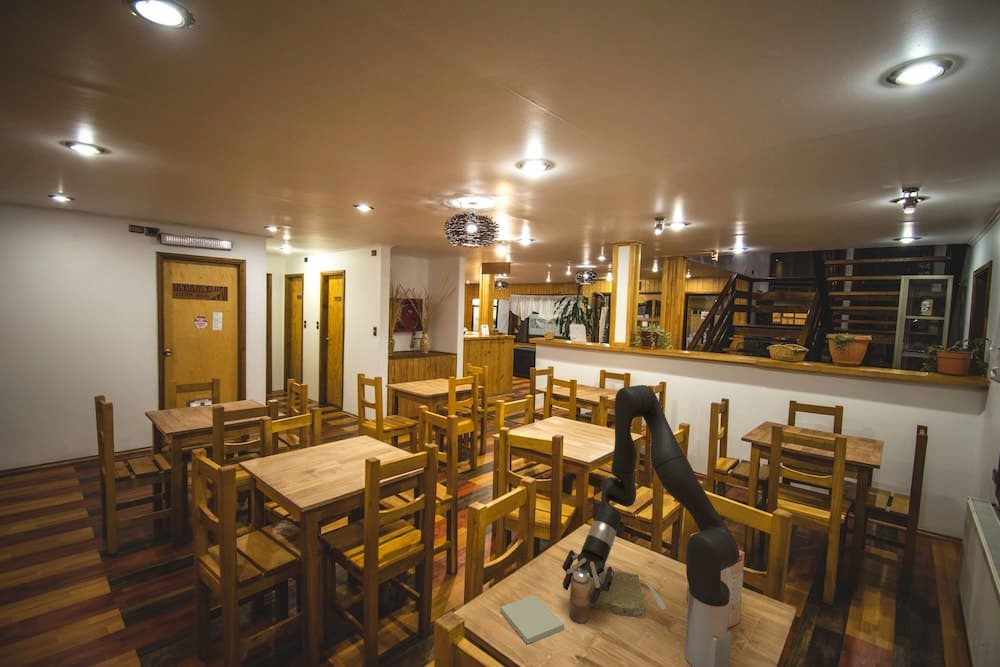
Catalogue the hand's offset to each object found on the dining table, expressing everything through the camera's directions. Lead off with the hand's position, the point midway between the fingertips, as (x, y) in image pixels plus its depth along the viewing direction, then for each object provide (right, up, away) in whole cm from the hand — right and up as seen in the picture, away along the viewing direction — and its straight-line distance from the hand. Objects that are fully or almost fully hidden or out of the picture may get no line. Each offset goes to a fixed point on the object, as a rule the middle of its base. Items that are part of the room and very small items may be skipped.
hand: (578, 595), depth 126 cm
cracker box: (+41, -8, +6) cm, 42 cm away
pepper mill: (+1, -7, +1) cm, 7 cm away
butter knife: (+25, -7, +19) cm, 33 cm away
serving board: (-13, -6, -1) cm, 15 cm away
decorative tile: (+12, -7, +12) cm, 18 cm away
